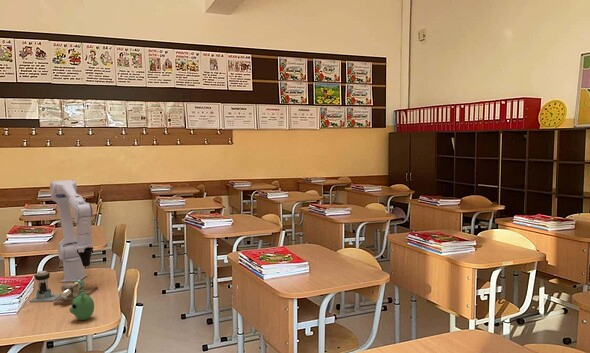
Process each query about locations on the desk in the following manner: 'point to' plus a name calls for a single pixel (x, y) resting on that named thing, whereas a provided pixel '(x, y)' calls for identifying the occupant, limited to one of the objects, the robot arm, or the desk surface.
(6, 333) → the desk surface
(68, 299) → the bracket
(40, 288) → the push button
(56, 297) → the pad
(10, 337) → the desk surface
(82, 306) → the alien toy
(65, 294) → the shaft
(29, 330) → the desk surface
